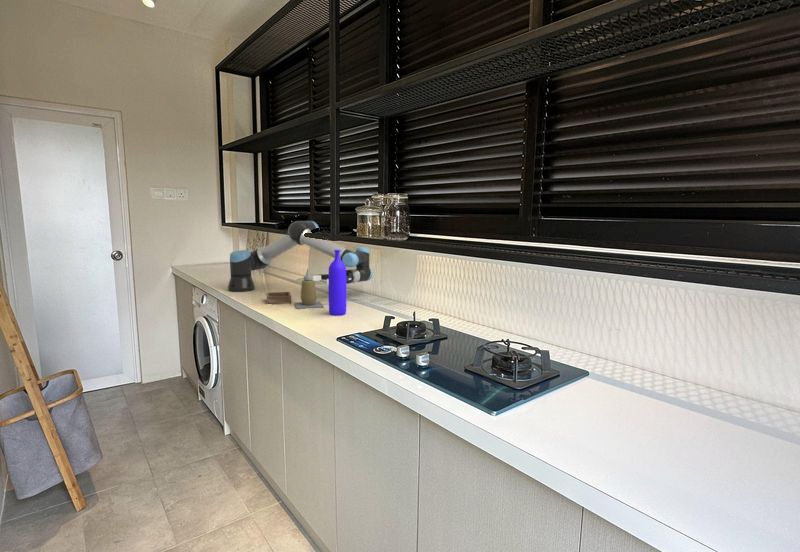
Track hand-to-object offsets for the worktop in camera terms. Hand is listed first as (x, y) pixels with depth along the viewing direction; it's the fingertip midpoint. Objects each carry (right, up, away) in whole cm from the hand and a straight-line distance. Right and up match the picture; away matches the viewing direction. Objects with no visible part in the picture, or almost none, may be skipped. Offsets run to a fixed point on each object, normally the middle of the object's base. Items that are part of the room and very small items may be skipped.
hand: (318, 280), depth 213 cm
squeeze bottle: (-5, -12, -2) cm, 13 cm away
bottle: (+13, -16, -19) cm, 27 cm away
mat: (-4, -13, -2) cm, 14 cm away
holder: (-22, -11, +5) cm, 25 cm away
